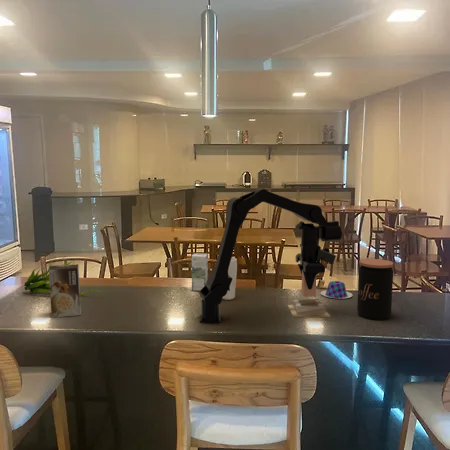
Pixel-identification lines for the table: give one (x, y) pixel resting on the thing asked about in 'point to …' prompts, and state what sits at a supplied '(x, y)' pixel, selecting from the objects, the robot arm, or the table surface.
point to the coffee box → (64, 290)
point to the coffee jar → (375, 289)
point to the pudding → (336, 290)
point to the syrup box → (199, 271)
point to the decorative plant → (42, 282)
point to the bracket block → (306, 291)
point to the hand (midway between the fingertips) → (308, 287)
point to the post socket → (308, 308)
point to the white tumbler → (232, 273)
